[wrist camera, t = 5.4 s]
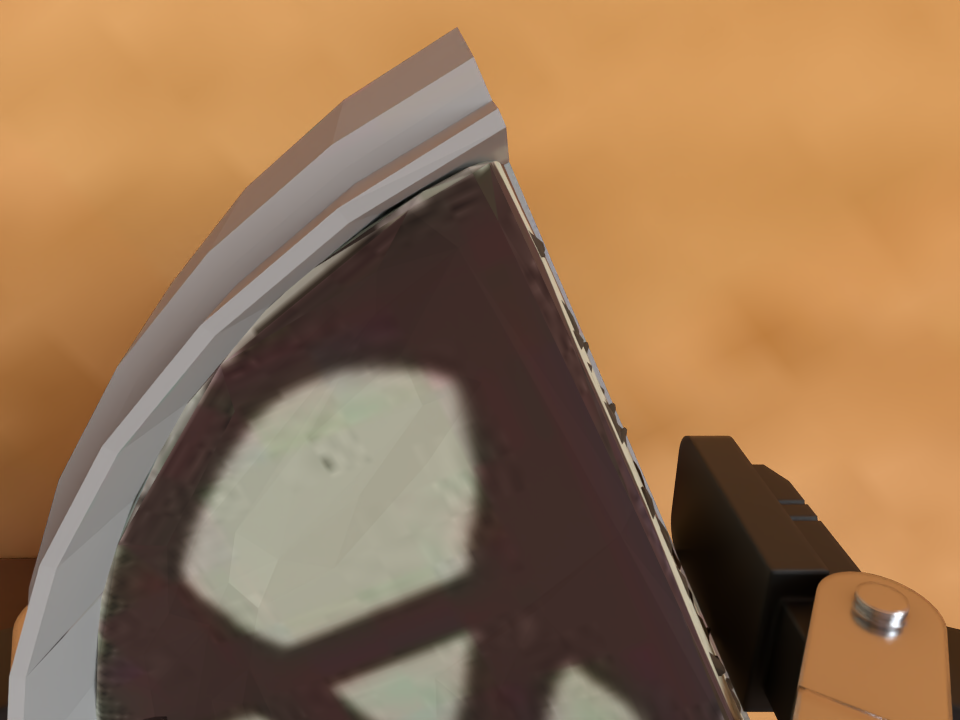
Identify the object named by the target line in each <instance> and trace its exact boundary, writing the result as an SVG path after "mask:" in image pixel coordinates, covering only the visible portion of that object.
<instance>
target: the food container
mask: <svg viewBox="0 0 960 720" xmlns="http://www.w3.org/2000/svg"><path fill="white" fill-rule="evenodd" d="M626 434H627V429H626V428H625V427H624V428H623V426H622V424H621V422H620V419H619V417H618V415H617V412H616V407H615V404H614V403H612V401H611V398H610V396H609V394H608V391H607V389H606V387H605V384H604V382H603V380H602V377H601V375H600V373H599V370H598V368H597V366H596V363H595V361H594V359H593V356H592V354H591V352H590V349H589V345H588V343H587V342H586V340H585V338H584V335H583V333H582V331H581V328H580V326H579V324H578V321H577V319H576V317H575V314H574V312H573V310H572V307H571V305H570V303H569V300H568V298H567V296H566V293H565V291H564V289H563V286H562V284H561V282H560V279H559V277H558V275H557V272H556V270H555V268H554V265H553V263H552V261H551V258H550V256H549V254H548V251H547V249H546V247H545V244H544V242H543V240H542V237H541V235H540V233H539V231H538V228H537V226H536V224H535V221H534V219H533V217H532V214H531V212H530V210H529V207H528V205H527V203H526V200H525V198H524V196H523V193H522V191H521V189H520V186H519V184H518V182H517V179H516V177H515V175H514V172H513V170H512V168H511V165H510V163H509V155H508V143H507V132H506V126H505V123H504V121H503V119H502V116H501V114H500V111H499V109H498V107H497V106H496V105H495V104H494V102H493V101H492V99H491V97H490V94H489V92H488V90H487V87H486V85H485V83H484V80H483V78H482V75H481V73H480V71H479V68H478V66H477V64H476V61H475V59H474V57H473V55H472V53H471V51H470V49H469V48H468V46H467V44H466V42H465V40H464V39H463V37H462V35H461V33H460V31H459V29H458V28H457V27H456V28H455V29H453V30H452V31H450V32H449V33H447V34H446V35H444V36H442V37H441V38H439V39H438V40H436V41H435V42H433V43H432V44H430V45H428V46H427V47H425V48H424V49H422V50H421V51H419V52H418V53H416V54H414V55H413V56H411V57H410V58H408V59H407V60H405V61H404V62H402V63H401V64H399V65H397V66H396V67H394V68H393V69H391V70H390V71H388V72H387V73H385V74H383V75H382V76H380V77H379V78H377V79H376V80H374V81H373V82H371V83H369V84H368V85H366V86H365V87H363V88H362V89H360V90H359V91H357V92H355V93H354V94H352V95H351V96H349V97H348V98H346V99H345V100H343V101H342V102H341V103H340V104H339V105H338V106H337V107H336V108H334V109H333V110H332V111H331V112H330V113H329V114H328V115H327V116H326V117H324V118H323V119H322V120H321V121H320V122H319V123H318V124H317V125H315V126H314V127H313V128H312V129H311V130H310V131H309V132H308V133H307V134H305V135H304V136H303V137H302V138H301V139H300V140H299V141H298V142H297V143H295V144H294V145H293V146H292V147H291V148H290V149H289V150H288V151H287V152H285V153H284V154H283V155H282V156H281V157H280V158H279V159H278V160H277V161H275V162H274V163H273V164H272V165H271V166H270V167H269V168H268V169H267V170H265V171H264V172H263V173H262V174H261V175H260V176H259V177H258V178H257V179H255V180H254V181H253V182H252V183H251V184H250V185H249V186H248V187H246V189H245V190H244V191H243V192H242V194H241V195H240V196H239V197H238V199H237V200H236V201H235V203H234V204H233V205H232V206H231V208H230V209H229V210H228V212H227V213H226V214H225V215H224V217H223V218H222V219H221V221H220V222H219V223H218V224H217V226H216V227H215V228H214V230H213V231H212V232H211V233H210V235H209V236H208V237H207V239H206V240H205V241H204V242H203V244H202V245H201V246H200V247H199V249H198V250H197V251H196V253H195V254H194V255H193V256H192V258H191V259H190V260H189V262H188V263H187V264H186V265H185V267H184V268H183V269H182V271H181V272H180V273H179V274H178V276H177V277H176V278H175V280H174V281H173V282H172V283H171V285H170V287H169V288H168V290H167V291H166V293H165V294H164V296H163V297H162V299H161V300H160V302H159V303H158V305H157V307H156V308H155V310H154V311H153V313H152V314H151V316H150V317H149V319H148V320H147V322H146V324H145V325H144V327H143V328H142V330H141V331H140V333H139V334H138V336H137V337H136V339H135V340H134V342H133V344H132V345H131V347H130V348H129V350H128V351H127V353H126V354H125V356H124V357H123V359H122V361H121V362H120V364H119V365H118V367H117V369H116V371H115V372H114V374H113V376H112V378H111V380H110V382H109V384H108V386H107V388H106V390H105V392H104V394H103V396H102V398H101V399H100V401H99V403H98V405H97V407H96V409H95V411H94V413H93V415H92V417H91V419H90V421H89V423H88V425H87V427H86V428H85V430H84V432H83V434H82V436H81V438H80V440H79V442H78V444H77V446H76V448H75V450H74V452H73V454H72V455H71V457H70V459H69V461H68V463H67V465H66V467H65V469H64V471H63V473H62V475H61V477H60V479H59V481H58V485H57V488H56V492H55V496H54V499H53V503H52V506H51V510H50V514H49V517H48V521H47V524H46V528H45V532H44V535H43V539H42V542H41V546H40V550H39V553H38V557H37V560H36V564H35V568H34V571H33V575H32V578H31V582H30V586H29V595H28V610H27V613H26V617H25V621H24V624H23V628H22V632H21V635H20V639H19V643H18V646H17V650H16V654H15V657H14V661H13V664H12V668H11V672H10V675H9V694H8V720H144V719H148V718H151V717H158V716H167V720H750V719H749V717H748V714H747V712H744V711H743V709H742V706H741V704H740V702H739V699H738V697H737V695H736V692H735V690H734V688H733V685H732V683H731V681H730V678H729V676H728V674H727V671H726V669H725V667H724V664H723V662H722V660H721V657H720V655H719V652H718V650H717V648H716V645H715V643H714V641H713V638H712V636H711V634H710V631H711V629H710V627H707V624H706V622H705V620H704V617H703V615H702V613H701V610H700V608H699V606H698V603H697V601H696V598H695V596H694V594H693V591H692V589H691V587H690V584H689V582H688V580H687V577H686V575H685V573H684V570H683V568H682V566H681V563H680V561H679V559H678V556H677V554H676V551H675V548H674V545H673V543H672V540H671V538H670V536H669V533H668V531H667V529H666V526H665V524H664V522H663V519H662V517H661V515H660V512H659V510H658V508H657V505H656V503H655V501H654V498H653V496H652V494H651V491H650V489H649V487H648V484H647V482H646V480H645V477H644V475H643V473H642V470H641V468H640V466H639V463H638V461H637V459H636V457H635V454H634V452H633V450H632V447H631V445H630V443H629V440H628V438H627V436H626Z"/></svg>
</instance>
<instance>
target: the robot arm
mask: <svg viewBox="0 0 960 720" xmlns="http://www.w3.org/2000/svg"><path fill="white" fill-rule="evenodd" d="M671 531H672V539H673V544H674V548H675V551H676V554H677V556H678V559H679V561H680V563H681V566H682V568H683V570H684V573H685V575H686V577H687V580H688V582H689V584H690V587H691V589H692V591H693V594H694V596H695V598H696V601H697V603H698V606H699V608H700V610H701V613H702V615H703V617H704V620H705V622H706V624H707V627H710V629H711V631H710V634H711V636H712V638H713V641H714V643H715V645H716V648H717V650H718V652H719V655H720V657H721V660H722V662H723V664H724V667H725V669H726V671H727V674H728V676H729V678H730V681H731V683H732V685H733V688H734V690H735V692H736V695H737V697H738V699H739V702H740V704H741V706H742V709H743V711H744V712H774V713H775V715H776V717H777V719H778V720H960V630H959V629H955V628H951V627H947V626H946V623H945V621H944V619H943V617H942V616H941V614H940V613H939V612H938V610H937V609H936V608H935V607H934V606H933V605H932V604H931V603H930V602H929V601H927V600H926V599H925V598H924V597H922V596H921V595H920V594H918V593H916V592H915V591H913V590H912V589H910V588H908V587H906V586H904V585H902V584H900V583H898V582H895V581H893V580H891V579H888V578H885V577H882V576H878V575H874V574H870V573H863V572H861V571H860V570H859V568H858V567H857V566H856V565H855V563H854V562H853V561H852V560H851V558H850V557H849V556H848V555H847V553H846V552H845V551H844V550H843V548H842V547H841V546H840V545H839V543H838V542H837V541H836V540H835V538H834V537H833V536H832V535H831V533H830V532H829V531H828V529H827V528H826V527H825V526H824V524H823V523H822V522H821V521H818V520H817V516H816V514H815V513H814V512H813V511H812V509H811V508H810V507H809V506H808V504H805V503H804V499H803V498H802V497H801V496H800V494H799V493H798V492H797V491H796V489H795V488H794V487H793V486H792V484H791V483H790V482H789V481H788V480H786V479H785V478H783V477H782V476H780V475H779V474H777V473H776V472H774V471H773V470H771V469H769V468H768V467H766V466H765V465H752V464H751V463H750V461H749V460H748V459H747V457H746V456H745V455H744V453H743V452H742V450H741V449H740V448H739V446H738V445H737V444H736V442H735V441H734V440H733V438H732V437H730V436H684V438H683V439H682V441H681V444H680V448H679V456H678V464H677V472H676V480H675V488H674V496H673V505H672V513H671ZM27 610H28V605H27V606H26V607H25V608H24V609H23V610H22V612H21V613H20V614H19V616H18V617H17V619H16V621H15V623H14V627H11V628H7V629H3V630H0V720H8V694H9V675H10V672H11V668H12V664H13V661H14V657H15V654H16V650H17V646H18V643H19V639H20V635H21V632H22V628H23V624H24V621H25V617H26V613H27ZM144 720H167V716H158V717H151V718H148V719H144Z"/></svg>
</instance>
